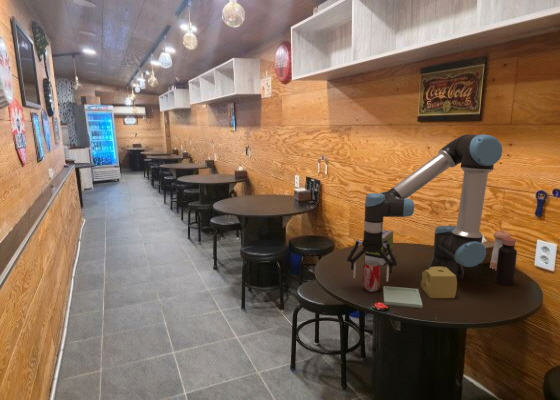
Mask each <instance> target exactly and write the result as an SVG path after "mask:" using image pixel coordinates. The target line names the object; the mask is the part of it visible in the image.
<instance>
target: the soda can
mask: <svg viewBox="0 0 560 400" xmlns="http://www.w3.org/2000/svg"><path fill="white" fill-rule="evenodd" d="M362 268H363V269H362V287H363V290H364V289H365V290H366V291H367V292H371V293H375V292H377V291H379V289H380V284H381V265H379V263H378V262H377V261H372V260H369V261H366V262H365V261H364V265H363V267H362Z"/></svg>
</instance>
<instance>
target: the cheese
mask: <svg viewBox="0 0 560 400" xmlns="http://www.w3.org/2000/svg"><path fill="white" fill-rule="evenodd" d="M421 277H422V278H421V280H420V288H421V289H422V290H423V292H425V294H426V295H427V297H429V299H455V298H456V293H457V289H458V288H457V286H458V280H457V278H456V275H455V274H453V273H452V272H451V271H450V270H449V269H448V268H447V267H430V268H429V270H428V269H425V270H424V271H422V274H421Z"/></svg>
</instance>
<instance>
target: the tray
mask: <svg viewBox="0 0 560 400" xmlns="http://www.w3.org/2000/svg"><path fill="white" fill-rule="evenodd" d="M382 292H383V305H384V304H385V305H384V306H393V307H394V306H395V307H404V308H412V309H423V302H422V297H421V295H420V290H419V288H409V287H399V286H388V285H386V286H385V285H383V286H382Z"/></svg>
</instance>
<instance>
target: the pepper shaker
mask: <svg viewBox="0 0 560 400" xmlns="http://www.w3.org/2000/svg"><path fill="white" fill-rule="evenodd" d="M493 238H494V244H493V249H492V252H491V260H490V264H489V268H490V269H491V268H492V270H493V269H495V270H494V271H496V269H497V260H498V251H499V248H500V247H502V246H503V245H502V238H512V236H511V234H510V233H509V232H506V231H505V230H499V231H496V232H494V233H493Z"/></svg>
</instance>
